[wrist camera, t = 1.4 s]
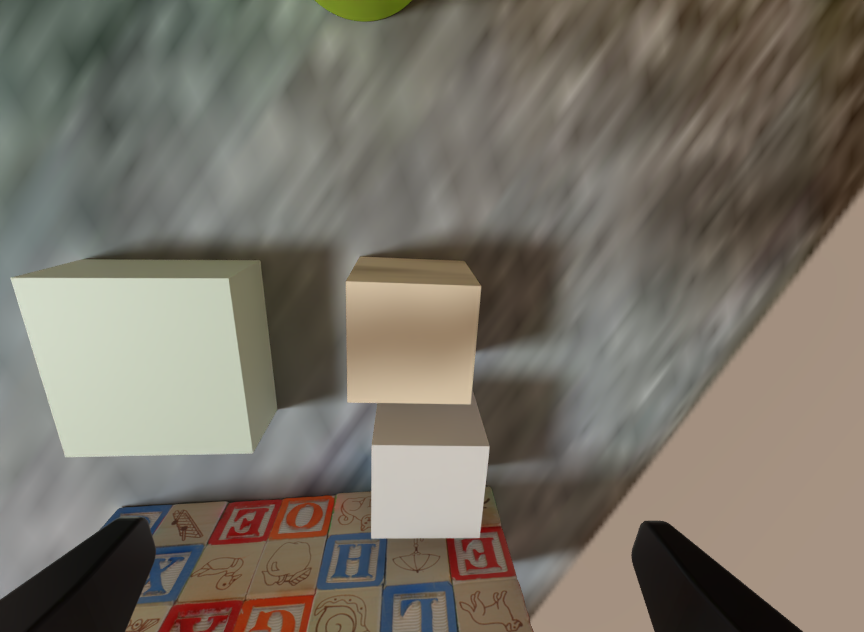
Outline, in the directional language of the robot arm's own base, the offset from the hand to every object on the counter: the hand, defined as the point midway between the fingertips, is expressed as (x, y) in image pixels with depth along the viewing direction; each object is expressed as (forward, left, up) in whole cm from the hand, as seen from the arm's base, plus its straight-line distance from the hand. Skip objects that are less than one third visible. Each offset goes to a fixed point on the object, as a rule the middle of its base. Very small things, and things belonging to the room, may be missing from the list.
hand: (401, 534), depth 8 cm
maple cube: (0, 0, -14) cm, 14 cm away
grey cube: (-7, -1, -14) cm, 16 cm away
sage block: (-2, +11, -14) cm, 18 cm away
